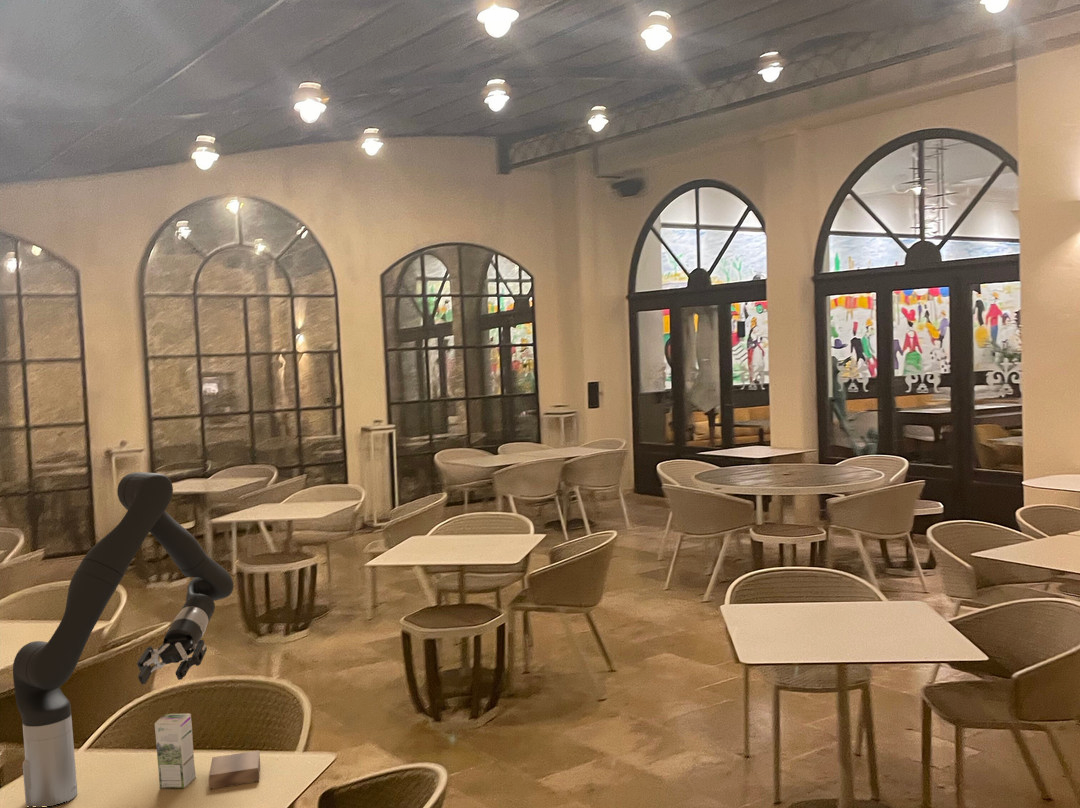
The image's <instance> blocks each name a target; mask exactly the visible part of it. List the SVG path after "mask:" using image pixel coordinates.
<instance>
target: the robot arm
mask: <svg viewBox="0 0 1080 808" xmlns="http://www.w3.org/2000/svg"><path fill="white" fill-rule="evenodd" d="M117 485H118V486H117V493H116V494H117V497H118V500H119V503H120V505H122V506H123V508H125V509H126V510H127V511H126V513H125V514H124V516H123V517H122V519H121V520H120V522H119V523H118V524H117V525H115V527H114V528H113V529H112V530H111V531H109V532H108V533H107V534H106V535H104V537H102V538H101V539H100V540H98V542H96V543H95V544H94V545H93V546H92V547H91V548H90V549H89V550H88V552H87V553H86V554H85V555H84V557H83V558H82V560H81V562H80V563H79V565H78V567H77V569H76V570H75V572H74V574H73V575H72V577H71V579H70V582H69V586H68V591H67V597H66V601H65V602H66V603H65V609H64V613H63V616H62V618H61V621H60V623H59V624H58V626H57V628H56V630H55V631H54V633H53V634H52V635H51V638H49V640H48V641H43V640H42V641H41V640H36V641H30V642H28V643H26V644H25V645H23V646H22V647H21V648H20V649H19V650H18V651H17V652H16V655H15V656H14V660H13V663H12V678H13V679H12V680H13V687H14V695H15V702H16V707H17V710H18V712H19V714H20V716H21V720H22V721H21V723H22V735H23V748H24V760H23V762H22V772H23V786H24V796H25V797H24V799H25V807H26V806H36V807H42V806H51V805H56V804H60V803H63V802H65V803H67V802H69V801H71V800H73V799H74V798H75V797H76V796H77V795H78V780H77V770H76V757H75V747H74V746H75V745H74V732H73V730H74V729H73V720H72V719H73V718H72V706H71V701H70V700H69V699H68V697H67V696H66V695H65V694H64V693H63V691H62V689H61V686H63V685H64V684H65V683H66V682H68V680H69V679H70V678H71V677H72V674H73V673H74V671H75V669H76V666H77V664H78V663H79V660H80V659H81V656H82V653H83V651H84V650H85V647H86V645H87V642H88V640H89V638H90V636H91V634H92V632H93V630H94V628H95V626H96V625H97V622H98V621H99V619H100V618H101V616H102V614H103V612H104V610H105V608H106V606H107V605H108V603H109V601H110V600H111V599H112V596H113V595H114V593H115V592H116V591H117V588H118V587H119V584H120V583H121V581H122V579H123V577H124V576H125V574H126V572H127V570H128V568H129V566H130V565H131V564H132V561H133V560H134V558H135V556H136V555H137V554H138V552H139V550H140V548H141V546H142V544H143V543H144V541H145V540H146V538H147V537H148V535H149V534H151V535H152V536H153V538H155V539H156V541H157V542H158V543H159V544H160V545H161V547H162V548H163V549H164V550H165V551H166V553H167V554H168V556H169V557H170V558H171V560H172V561H173V563H174V564H175V565H176V567H177V568H178V570H179V571H180V573H182V575H184V577H187V578H192V579H191V580H190V582H188V586H187V589H186V590H187V591H186V598H185V603H184V604H183V606H182V608H181V609H180V611H179V613H178V614H177V615H176V616H175V617H174V619H173V621H172V623H171V624H170V625H169V628H168V630H167V631H166V632H165V635H164V636H163V642H162V644H161V645H160V646H159V647H158V648H153V647H152V646H148V647H147V648H146V649H145V651H144V652H143V653H142V654H141V657H140V658H139V659H138V661H137V662H136V665H137V667H138V669H139V674H138V676H137V679H138V681H139V683H140V684H141V685H146V684H147V682H148V681H149V679H150V677H151V676H152V673H153V672H154V671H156V670H158V669H161V668H163V667H164V666H166V665H170V664H178V663H179V665H178V666H177V669H176V670H175V677H176V678H177V681H180V680H183V679H184V677H186V675H187V674H188V672H189V670H190V669H191V668H193V666H195V667H196V666H197V667H198V666H200V665H202V664H201V663H202V662H203V660H204V657H205V655H206V652H207V650H208V648H207V645H206V643H205V640H204V639H202V637H203V636H204V634H205V632H206V629H207V628H208V624H209V622H210V620H211V619H212V617H213V615H214V612H215V610H216V604H215V602H214V601H218V600H222V599H225V598H228V597H230V596H231V595H232V593H233V591H234V581H233V578H232V575H231V574H230V572H228V571H227V569H226V568H224V566H222V565H220V564H219V563H218V562H216V561H215V560H214V559H213V558H211V557H210V556H208V555H207V553H206V552H205V550H204V548H203V547H202V546H201V544H200V543H199V541H198V540H197V539H196V538H195V536H194V535H193V534H192V533H190V532H189V531H188V530H187V529H186V528H185V527H184V526H183V525H181V524H180V523H179V522H177V520H175V519H174V518H173V517H172V516H171V515H170V514H169V513H168V512H167V508H168V507H169V505H170V503H171V501H172V497H173V493H174V487H173V486H174V485H173V483H172V480H171V479H170V478H169V477H168V476H166V475H165V474H163V473H158V472H157V473H156V472H145V471H143V472H142V471H138V472H137V471H135V472H131V473H127V474H125V475H124V476H123V477H122V478H121V479H120V481H119V483H118V484H117ZM190 655H191V656H190ZM189 656H190V657H189ZM159 657H160V660H161V662H160V660H159ZM151 664H154V665H151ZM66 801H67V802H66ZM63 804H64V803H63ZM60 805H61V804H60ZM56 806H57V805H56Z"/></svg>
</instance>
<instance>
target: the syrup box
mask: <svg viewBox="0 0 1080 808" xmlns="http://www.w3.org/2000/svg"><path fill="white" fill-rule="evenodd" d="M154 731H155V732H154V733H155V743H156V744H155V745H156V757H157V759H156V760H157V768H158V781H159V789H185V788H186V787H188V785H189V784H190V783H192V782H193V781H194V780H195V778H196V776H197V775H196V766H195V765H196V764H195V757H194V756H195V754H194V743H193V742H194V740H193V738H194V737H193V725H192V714H191V713H165V714H164V715H163V716H160V718H159V719H158V720H156V721H155V722H154Z"/></svg>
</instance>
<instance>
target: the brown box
mask: <svg viewBox="0 0 1080 808" xmlns="http://www.w3.org/2000/svg"><path fill="white" fill-rule="evenodd" d="M260 756H261V754H260V749H259V750H253V751H246V752H238V753H232V754H226V755H221V756H212V757H211V762H210V766H209V767H210V768H209V772H208V773H209V774H208V782H209V790H212V789H211V788H215V789H219V788H218V787H221V788H226V787H225V786H227V787H232V786H231V785H234V786H238V785H237V784H240V785H244V784H243V783H246V784H250V783H249V782H253V783H255V782H254V781H259V782H260V774H259V772H260V770H261V757H260Z"/></svg>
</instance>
